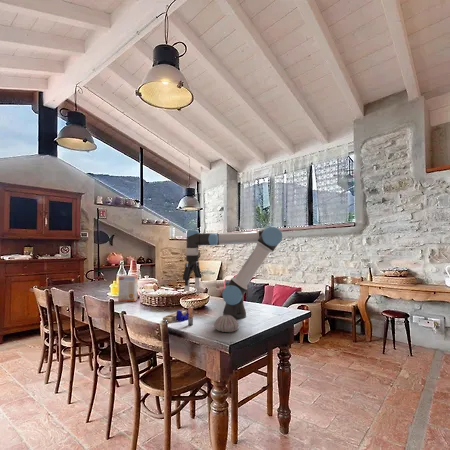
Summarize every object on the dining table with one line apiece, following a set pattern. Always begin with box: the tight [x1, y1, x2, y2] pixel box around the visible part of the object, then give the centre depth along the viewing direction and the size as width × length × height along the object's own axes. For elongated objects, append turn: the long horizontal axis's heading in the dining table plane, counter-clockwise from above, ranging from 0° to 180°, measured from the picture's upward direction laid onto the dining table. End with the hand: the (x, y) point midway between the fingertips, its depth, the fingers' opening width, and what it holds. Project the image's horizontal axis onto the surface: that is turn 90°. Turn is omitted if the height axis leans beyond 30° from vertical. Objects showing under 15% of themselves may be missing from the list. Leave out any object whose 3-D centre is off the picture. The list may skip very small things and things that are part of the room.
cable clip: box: [176, 309, 188, 322], centre depth 184 cm, size 12×4×6 cm, turn 145°
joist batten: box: [162, 309, 187, 324], centre depth 183 cm, size 5×20×3 cm, turn 159°
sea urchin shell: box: [214, 314, 239, 333], centre depth 160 cm, size 13×14×8 cm
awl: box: [187, 306, 194, 327], centre depth 170 cm, size 3×3×10 cm
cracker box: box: [118, 274, 139, 302], centre depth 243 cm, size 14×6×21 cm, turn 82°
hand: (192, 289), depth 181 cm, fingers open, 13 cm apart
